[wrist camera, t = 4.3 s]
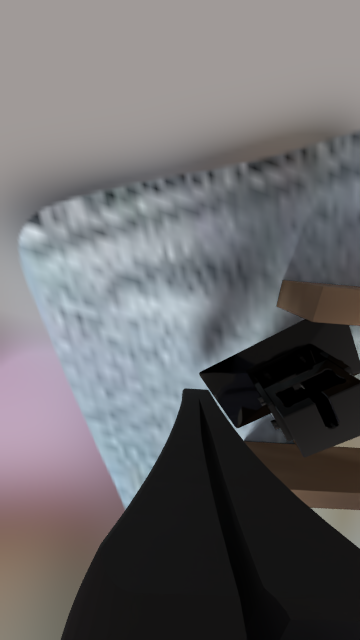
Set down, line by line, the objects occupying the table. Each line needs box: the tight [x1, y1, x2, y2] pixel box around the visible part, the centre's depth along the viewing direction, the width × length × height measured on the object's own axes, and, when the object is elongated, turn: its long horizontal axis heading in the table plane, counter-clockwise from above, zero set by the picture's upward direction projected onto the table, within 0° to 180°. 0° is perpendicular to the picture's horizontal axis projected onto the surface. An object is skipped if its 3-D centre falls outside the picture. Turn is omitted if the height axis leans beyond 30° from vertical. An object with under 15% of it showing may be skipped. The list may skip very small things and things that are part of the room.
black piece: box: [199, 319, 360, 457], centre depth 10 cm, size 12×7×5 cm, turn 121°
